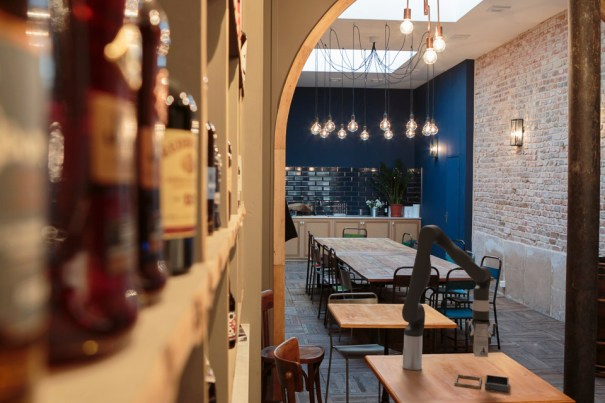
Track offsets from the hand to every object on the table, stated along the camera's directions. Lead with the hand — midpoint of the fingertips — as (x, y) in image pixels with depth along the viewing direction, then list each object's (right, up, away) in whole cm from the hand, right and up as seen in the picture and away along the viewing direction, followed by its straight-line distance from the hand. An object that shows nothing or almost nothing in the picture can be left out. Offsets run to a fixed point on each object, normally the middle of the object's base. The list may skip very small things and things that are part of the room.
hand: (480, 343), depth 264 cm
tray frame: (-5, -19, +3) cm, 20 cm away
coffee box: (0, -5, 0) cm, 5 cm away
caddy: (+7, -20, -2) cm, 21 cm away
